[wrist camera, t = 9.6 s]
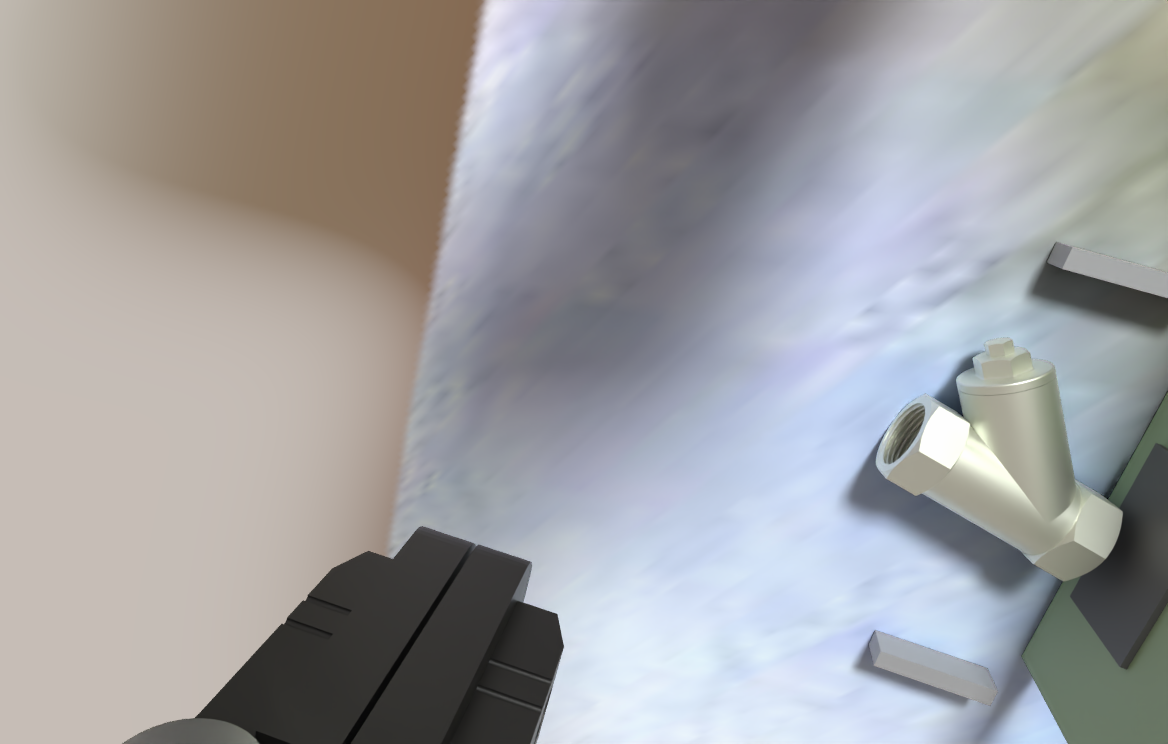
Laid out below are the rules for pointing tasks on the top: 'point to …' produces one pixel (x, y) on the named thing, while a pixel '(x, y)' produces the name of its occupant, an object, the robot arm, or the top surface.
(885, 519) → the top surface
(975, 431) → the pipe fitting
